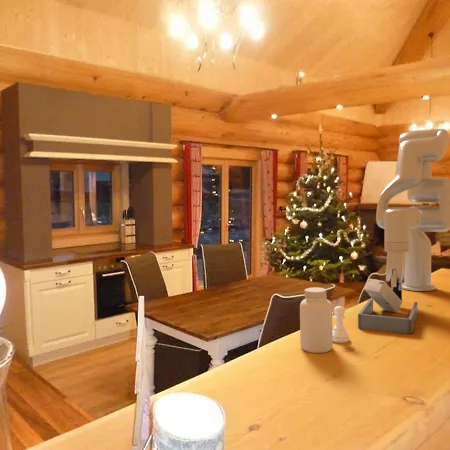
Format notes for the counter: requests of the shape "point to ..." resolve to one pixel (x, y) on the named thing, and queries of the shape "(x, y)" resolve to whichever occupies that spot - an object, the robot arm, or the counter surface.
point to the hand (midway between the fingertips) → (396, 301)
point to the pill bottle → (316, 321)
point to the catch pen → (386, 320)
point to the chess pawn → (339, 326)
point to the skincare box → (383, 295)
